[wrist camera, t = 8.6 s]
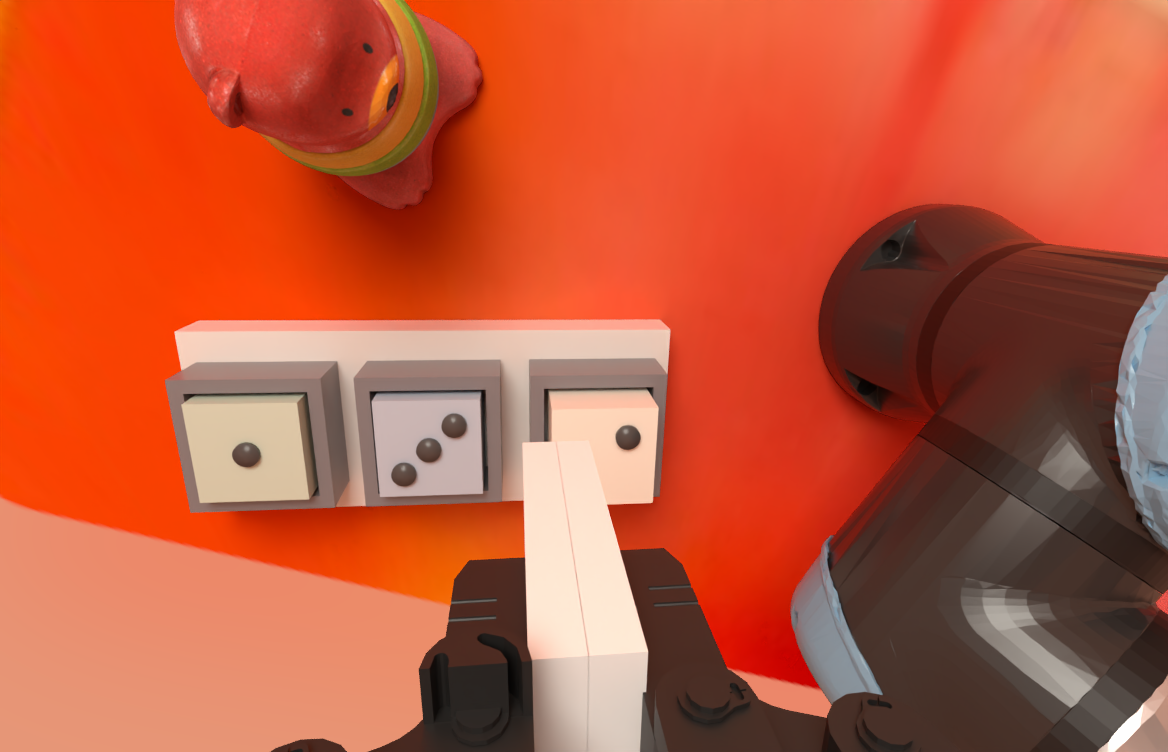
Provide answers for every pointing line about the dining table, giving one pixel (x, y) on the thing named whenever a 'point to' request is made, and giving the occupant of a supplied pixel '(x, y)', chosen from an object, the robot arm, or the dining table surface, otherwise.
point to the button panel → (412, 387)
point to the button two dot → (611, 436)
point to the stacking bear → (333, 83)
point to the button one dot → (251, 446)
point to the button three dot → (429, 442)
